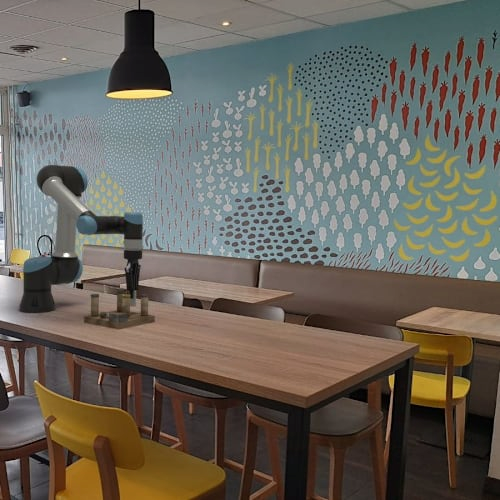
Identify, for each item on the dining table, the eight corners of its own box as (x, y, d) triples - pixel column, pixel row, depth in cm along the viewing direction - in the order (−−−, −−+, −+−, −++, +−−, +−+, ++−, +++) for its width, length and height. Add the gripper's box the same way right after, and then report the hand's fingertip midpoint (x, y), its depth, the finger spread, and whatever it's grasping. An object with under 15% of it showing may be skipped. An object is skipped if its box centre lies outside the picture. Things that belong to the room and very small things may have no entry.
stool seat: (83, 322, 234) (84, 294, 233) (120, 315, 250) (121, 289, 249) (118, 329, 223) (118, 300, 222) (154, 321, 239) (155, 294, 238)
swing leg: (100, 317, 230) (100, 295, 229) (100, 316, 233) (100, 294, 232) (130, 317, 233) (130, 295, 232) (129, 315, 236) (130, 294, 235)
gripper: (130, 248, 246) (129, 303, 247) (118, 250, 233) (117, 308, 234) (147, 248, 244) (146, 304, 246) (136, 250, 232) (135, 309, 233)
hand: (132, 306), depth 240 cm, fingers closed
